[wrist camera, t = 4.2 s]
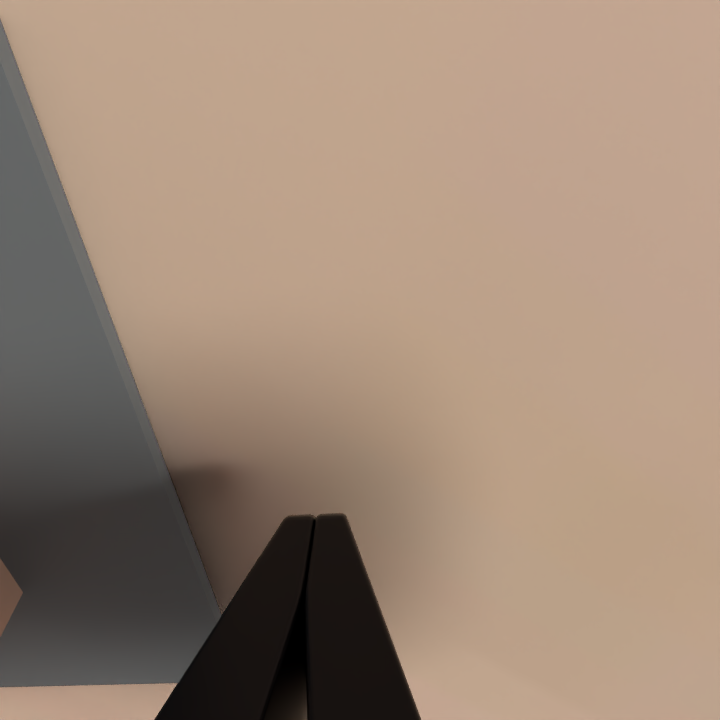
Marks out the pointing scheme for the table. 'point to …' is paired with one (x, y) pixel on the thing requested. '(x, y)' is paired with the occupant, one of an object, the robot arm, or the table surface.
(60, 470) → the runner mat
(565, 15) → the table surface
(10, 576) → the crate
